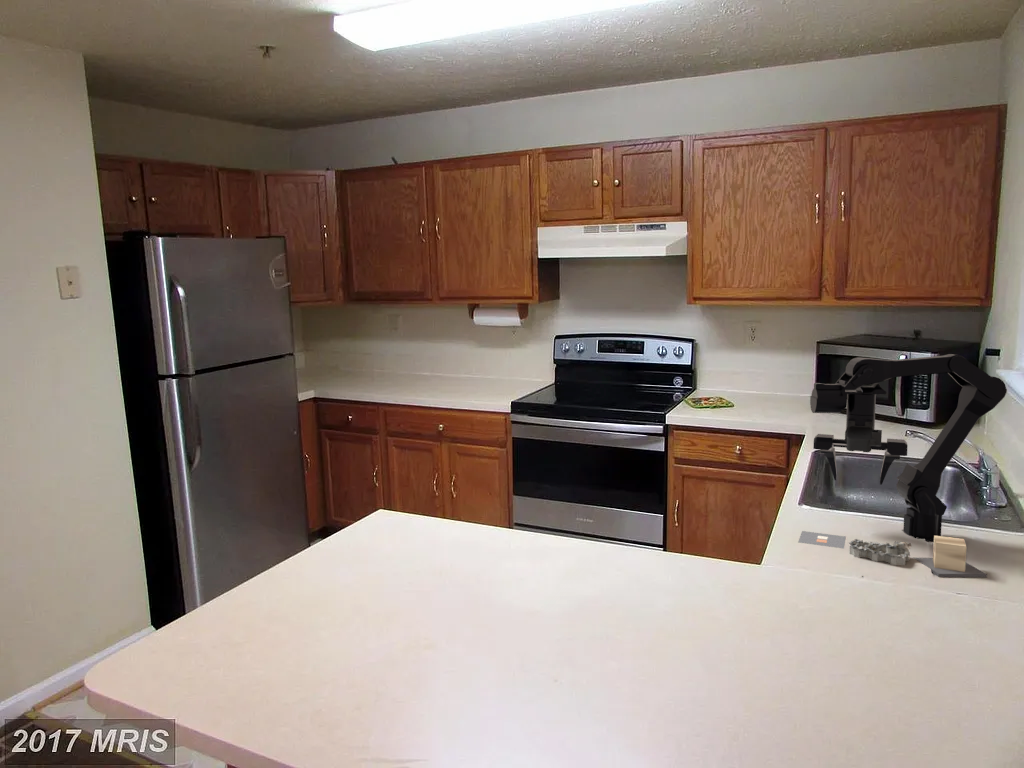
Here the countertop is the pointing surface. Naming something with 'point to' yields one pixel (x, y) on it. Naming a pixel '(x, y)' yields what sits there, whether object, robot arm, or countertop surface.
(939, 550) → the maple block
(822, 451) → the robot arm
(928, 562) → the charcoal mat
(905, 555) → the egg carton
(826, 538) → the tile
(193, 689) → the countertop surface
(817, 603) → the countertop surface
